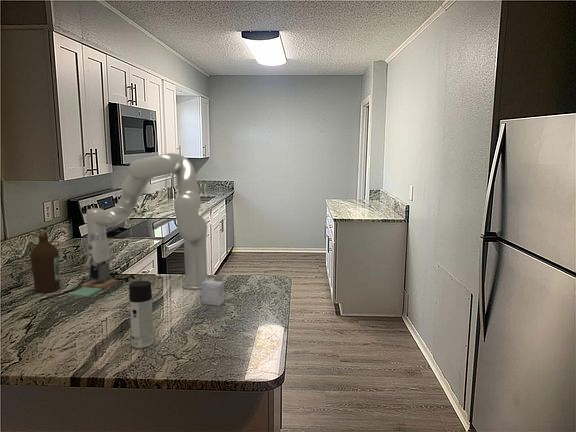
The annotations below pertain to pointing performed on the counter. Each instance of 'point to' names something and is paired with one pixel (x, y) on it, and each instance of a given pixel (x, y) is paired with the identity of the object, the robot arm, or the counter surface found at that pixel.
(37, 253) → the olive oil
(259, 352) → the counter surface
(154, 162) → the robot arm
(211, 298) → the medicine box
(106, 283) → the post stand
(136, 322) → the spray can
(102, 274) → the gift box
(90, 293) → the mat
